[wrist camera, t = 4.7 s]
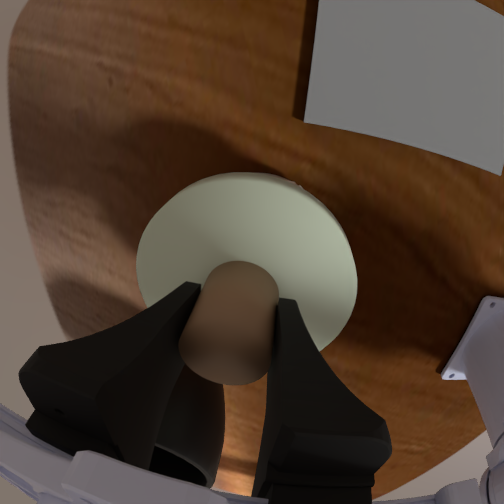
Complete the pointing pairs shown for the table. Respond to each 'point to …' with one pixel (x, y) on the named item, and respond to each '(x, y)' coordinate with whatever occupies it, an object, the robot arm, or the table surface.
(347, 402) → the robot arm
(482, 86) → the mat
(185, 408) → the mug
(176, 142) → the table surface
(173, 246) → the lid
